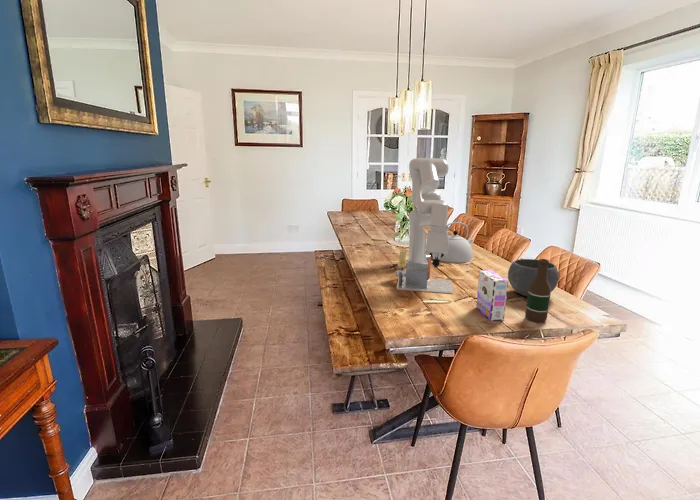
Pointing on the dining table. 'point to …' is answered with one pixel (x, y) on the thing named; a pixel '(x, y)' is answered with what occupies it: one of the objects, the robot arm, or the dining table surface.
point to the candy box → (492, 295)
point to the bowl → (529, 275)
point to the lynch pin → (405, 271)
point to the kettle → (458, 248)
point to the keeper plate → (402, 260)
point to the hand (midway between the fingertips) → (435, 266)
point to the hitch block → (422, 280)
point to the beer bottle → (539, 295)
